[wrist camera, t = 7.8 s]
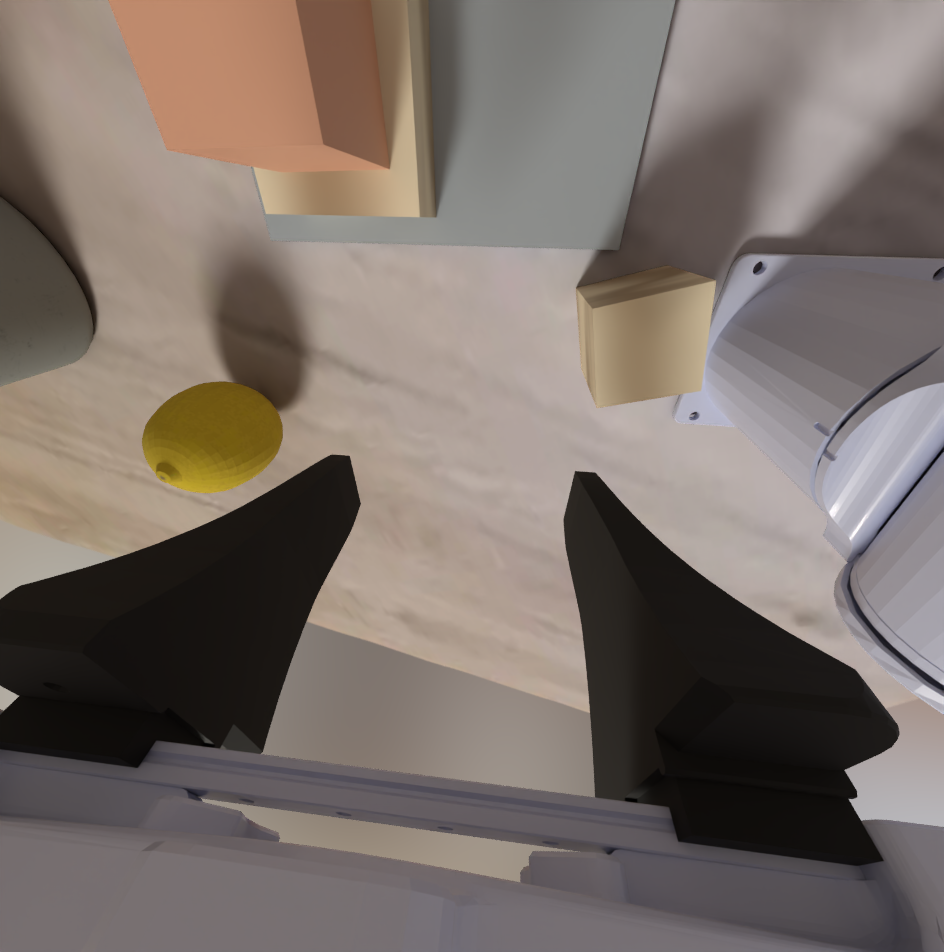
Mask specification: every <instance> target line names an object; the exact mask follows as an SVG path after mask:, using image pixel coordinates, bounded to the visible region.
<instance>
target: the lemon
mask: <svg viewBox="0 0 944 952" xmlns="http://www.w3.org/2000/svg"><path fill="white" fill-rule="evenodd" d="M282 438H283V428H282V422H281V419H280V416H279V414H278V412H277V410H276V409H275V407H274V406H273V405H272V404H271V402H270V401H269V400H268V399H267V398H265V397H264V396H263V395H262V394H261V393H259V392H257V391H256V390H254V389H252V388H249V387H247V386H244V385H241V384H237V383H231V382H210V383H203V384H199V385H196V386H193V387H191V388H189V389H186V390H184V391H182V392H180V393H178V394H176V395H175V396H173V397H171V398H170V399H169V400H167V401H166V402H165V403H164V404H163V405H162V406H161V407H160V408H159V409H158V410H157V411H156V412H155V413H154V415H153V416H152V417H151V418H150V419H149V421H148V422H147V424H146V426H145V429H144V433H143V438H142V446H143V451H144V455H145V458H146V460H147V462H148V464H149V466H150V467H151V468H152V470H153V471H154V472H155V473H156V476H157V477H158V478H159V479H160V480H161V481H163V482H165V483H169V484H171V485H173V486H175V487H177V488H180V489H183V490H187V491H191V492H198V493H214V492H220V491H226V490H229V489H232V488H234V487H237V486H239V485H241V484H243V483H244V482H246V481H248V480H250V479H252V478H253V477H255V476H256V475H258V474H259V473H260V472H262V471H263V470H264V469H265V468H266V467H267V466H268V465H269V463H270V462H271V461H272V460H273V459H274V457H275V456H276V454H277V453H278V450H279V448H280V445H281V442H282Z"/></svg>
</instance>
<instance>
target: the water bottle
mask: <svg viewBox="0 0 944 952" xmlns="http://www.w3.org/2000/svg"><path fill="white" fill-rule="evenodd" d="M92 338H93V322H92V316H91V312H90V309H89V306H88V303H87V300H86V297H85V295H84V293H83V291H82V289H81V287H80V285H79V284H78V282H77V280H76V278H75V276H74V275H73V273H72V272H71V270H70V269H69V267H68V266H67V264H66V263H65V261H64V260H63V258H62V257H61V256H60V255H59V253H58V252H57V251H56V250H55V248H54V247H53V246H52V245H51V244H50V242H49V241H48V240H47V239H46V238H45V237H44V236H43V235H42V234H41V233H40V231H39V230H38V229H37V228H36V227H35V226H34V225H33V224H32V223H31V222H30V221H29V220H28V219H27V218H26V217H24V216H23V215H22V214H21V213H20V212H18V211H17V210H16V209H15V208H14V207H13V206H11V205H10V204H9V203H8V202H7V201H5V200H4V199H2V198H1V197H0V386H3V385H6V384H10V383H13V382H16V381H19V380H22V379H25V378H28V377H31V376H35V375H38V374H41V373H44V372H47V371H50V370H53V369H57V368H60V367H63V366H66V365H68V364H71V363H74V362H76V361H77V360H79V359H80V358H81V357H82V356H83V355H84V354H85V353H86V352H87V350H88V348H89V346H90V343H91V341H92Z"/></svg>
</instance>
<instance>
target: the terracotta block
mask: <svg viewBox="0 0 944 952" xmlns="http://www.w3.org/2000/svg"><path fill="white" fill-rule="evenodd" d="M108 1H109V3H110V6H111V8H112V11H113V13H114V16H115V18H116V21H117V23H118V26H119V29H120V31H121V34H122V36H123V39H124V41H125V44H126V46H127V49H128V52H129V54H130V57H131V59H132V62H133V64H134V67H135V69H136V72H137V74H138V77H139V80H140V82H141V85H142V87H143V90H144V92H145V95H146V97H147V100H148V103H149V105H150V108H151V110H152V113H153V115H154V118H155V120H156V123H157V126H158V128H159V131H160V133H161V136H162V138H163V141H164V143H165V146H166V148H167V150H169V151H174V152H179V153H184V154H190V155H195V156H200V157H205V158H210V159H215V160H220V161H225V162H231V163H236V164H241V165H246V166H251V167H256V168H261V169H267V170H272V171H277V172H317V171H352V170H388V169H390V166H389V157H388V148H387V139H386V130H385V122H384V113H383V104H382V95H381V86H380V78H379V69H378V60H377V51H376V42H375V34H374V25H373V16H372V7H371V0H108Z"/></svg>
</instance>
